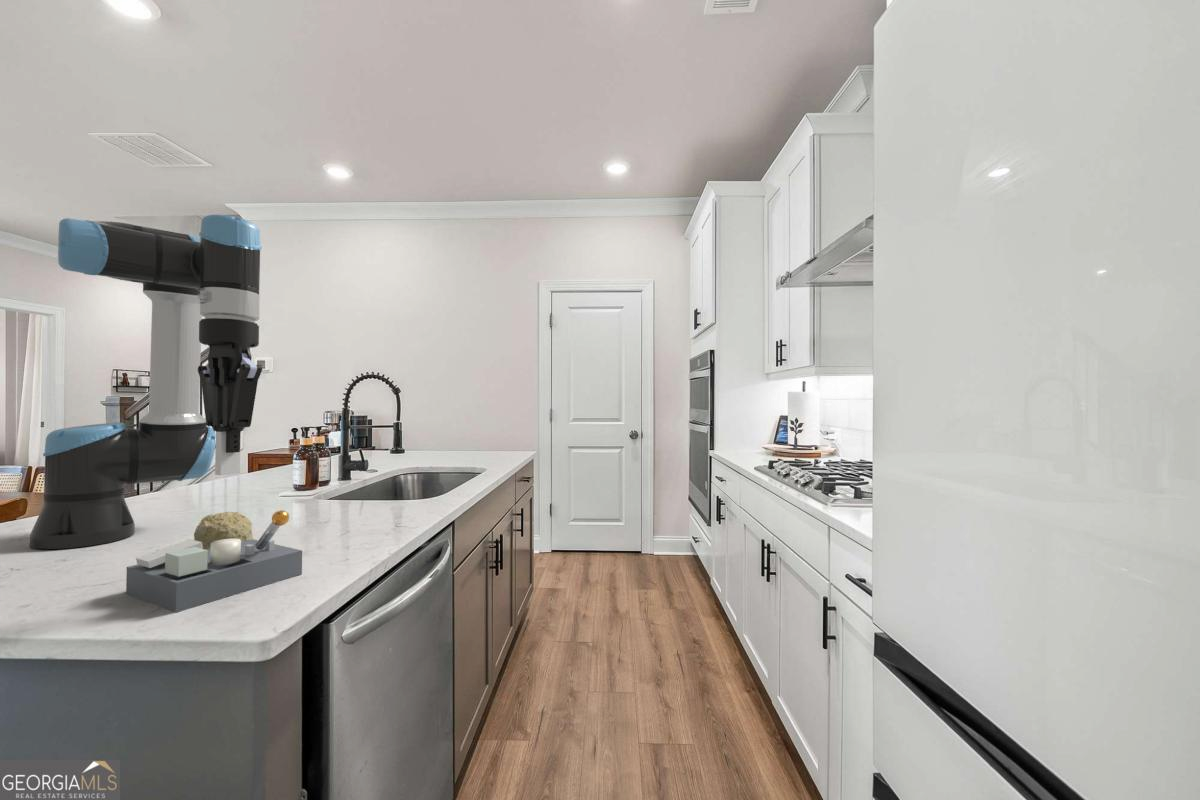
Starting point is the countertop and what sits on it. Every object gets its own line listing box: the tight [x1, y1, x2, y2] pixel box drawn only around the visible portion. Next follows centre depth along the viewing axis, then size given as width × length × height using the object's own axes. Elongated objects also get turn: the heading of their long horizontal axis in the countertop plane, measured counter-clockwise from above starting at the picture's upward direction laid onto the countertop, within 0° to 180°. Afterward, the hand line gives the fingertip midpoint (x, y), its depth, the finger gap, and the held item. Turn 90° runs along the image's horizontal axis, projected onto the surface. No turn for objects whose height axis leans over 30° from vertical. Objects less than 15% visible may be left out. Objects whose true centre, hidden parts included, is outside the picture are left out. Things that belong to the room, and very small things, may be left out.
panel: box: [125, 538, 303, 613], centre depth 83 cm, size 14×18×6 cm
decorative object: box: [193, 511, 254, 550], centre depth 98 cm, size 9×10×10 cm
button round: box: [210, 539, 241, 565], centre depth 80 cm, size 4×4×3 cm
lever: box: [255, 510, 290, 550], centre depth 85 cm, size 2×2×9 cm
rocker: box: [135, 538, 203, 568], centre depth 80 cm, size 4×7×1 cm, turn 153°
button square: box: [165, 547, 208, 577], centre depth 76 cm, size 4×4×3 cm
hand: (227, 473), depth 80 cm, fingers closed
